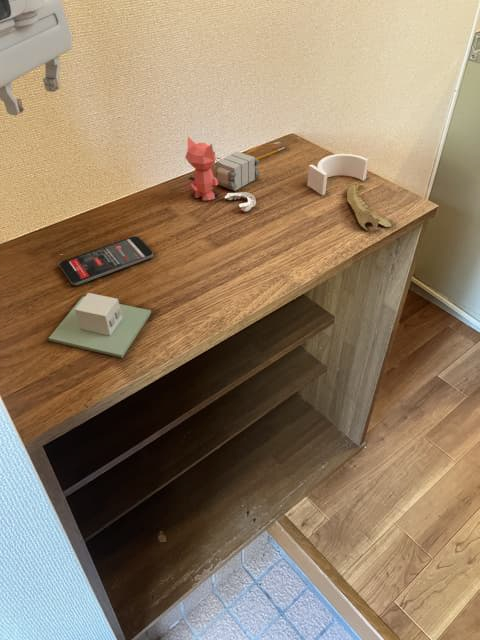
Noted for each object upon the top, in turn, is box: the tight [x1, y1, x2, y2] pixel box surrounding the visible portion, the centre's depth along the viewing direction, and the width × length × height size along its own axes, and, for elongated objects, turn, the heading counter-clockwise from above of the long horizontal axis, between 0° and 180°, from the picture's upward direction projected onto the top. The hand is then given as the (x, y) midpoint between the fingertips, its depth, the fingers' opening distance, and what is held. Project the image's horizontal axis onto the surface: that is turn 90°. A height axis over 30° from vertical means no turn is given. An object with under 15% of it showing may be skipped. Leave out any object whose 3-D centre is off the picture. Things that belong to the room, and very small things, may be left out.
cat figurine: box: [185, 136, 223, 201], centre depth 103 cm, size 7×7×12 cm
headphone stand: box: [306, 153, 370, 196], centre depth 110 cm, size 5×6×12 cm
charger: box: [75, 292, 122, 336], centre depth 77 cm, size 5×4×4 cm
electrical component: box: [215, 141, 285, 192], centre depth 114 cm, size 24×6×5 cm, turn 140°
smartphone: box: [58, 235, 154, 286], centre depth 91 cm, size 7×1×15 cm
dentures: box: [224, 191, 257, 213], centre depth 105 cm, size 7×5×2 cm
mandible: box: [346, 183, 392, 232], centre depth 103 cm, size 6×17×3 cm, turn 11°
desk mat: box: [48, 295, 152, 359], centre depth 79 cm, size 12×10×1 cm
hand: (35, 101), depth 77 cm, fingers open, 8 cm apart
